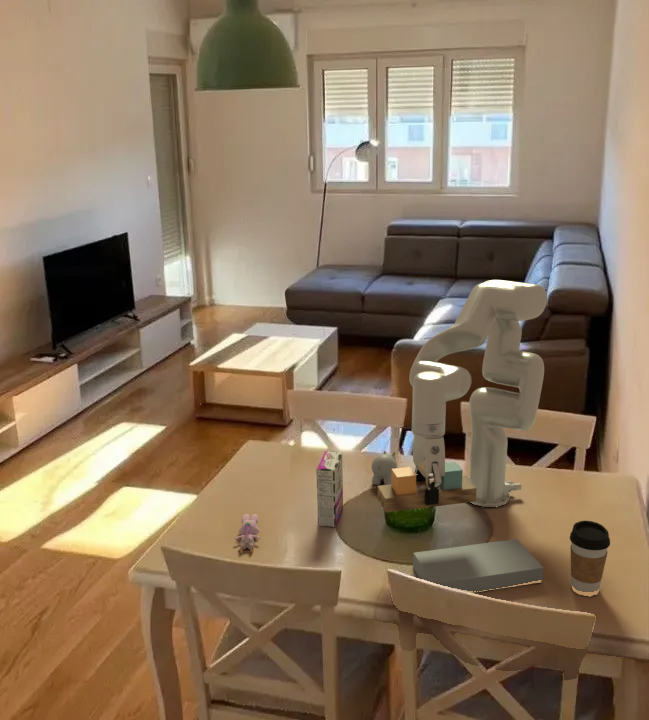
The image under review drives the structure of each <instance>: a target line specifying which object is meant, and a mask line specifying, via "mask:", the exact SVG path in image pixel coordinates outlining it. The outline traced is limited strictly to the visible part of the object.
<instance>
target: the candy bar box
mask: <svg viewBox="0 0 649 720" xmlns="http://www.w3.org/2000/svg"><path fill="white" fill-rule="evenodd" d="M318 463H319V464H318V465H317V467H316V470H315V471H316V494H317V498H316V499H317V525H318V526H319V527H329V528H336V527H337V524H338V522H339V519H340V516H341V514H342V511H343V509H344V495H343V493H344V487H343V486H344V483H343V481H344V480H343V477H344V476H343V452H342V451H341V452H340V451H331V450H327V451H324V452H323V455H322V457H321V459H320V461H319V462H318Z"/></svg>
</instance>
